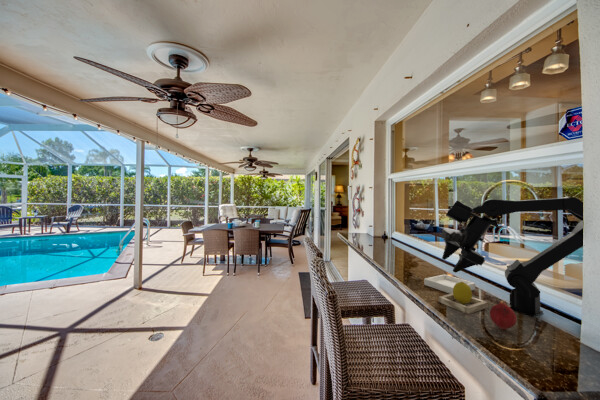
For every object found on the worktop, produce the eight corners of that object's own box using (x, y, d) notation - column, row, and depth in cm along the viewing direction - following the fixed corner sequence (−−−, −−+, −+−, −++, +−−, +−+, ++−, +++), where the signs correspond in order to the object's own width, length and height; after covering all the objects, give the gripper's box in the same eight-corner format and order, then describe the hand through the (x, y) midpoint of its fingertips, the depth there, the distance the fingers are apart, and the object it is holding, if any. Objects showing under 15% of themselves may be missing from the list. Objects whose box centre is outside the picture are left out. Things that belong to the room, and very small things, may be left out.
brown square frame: (487, 307, 83) (487, 302, 83) (468, 314, 78) (468, 308, 78) (457, 296, 92) (457, 291, 92) (438, 301, 88) (438, 296, 88)
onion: (518, 337, 65) (518, 307, 65) (491, 331, 68) (491, 302, 68) (514, 327, 70) (513, 299, 70) (488, 322, 73) (488, 295, 73)
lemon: (476, 308, 82) (475, 284, 82) (459, 308, 83) (459, 284, 82) (465, 301, 88) (465, 279, 88) (449, 301, 88) (449, 279, 88)
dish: (475, 289, 99) (475, 283, 99) (454, 295, 93) (454, 288, 93) (444, 280, 111) (444, 274, 111) (424, 284, 105) (424, 278, 105)
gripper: (442, 212, 96) (420, 244, 101) (466, 230, 78) (438, 269, 83) (468, 225, 96) (445, 256, 101) (498, 246, 78) (468, 283, 83)
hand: (448, 265), depth 92 cm, fingers open, 9 cm apart
